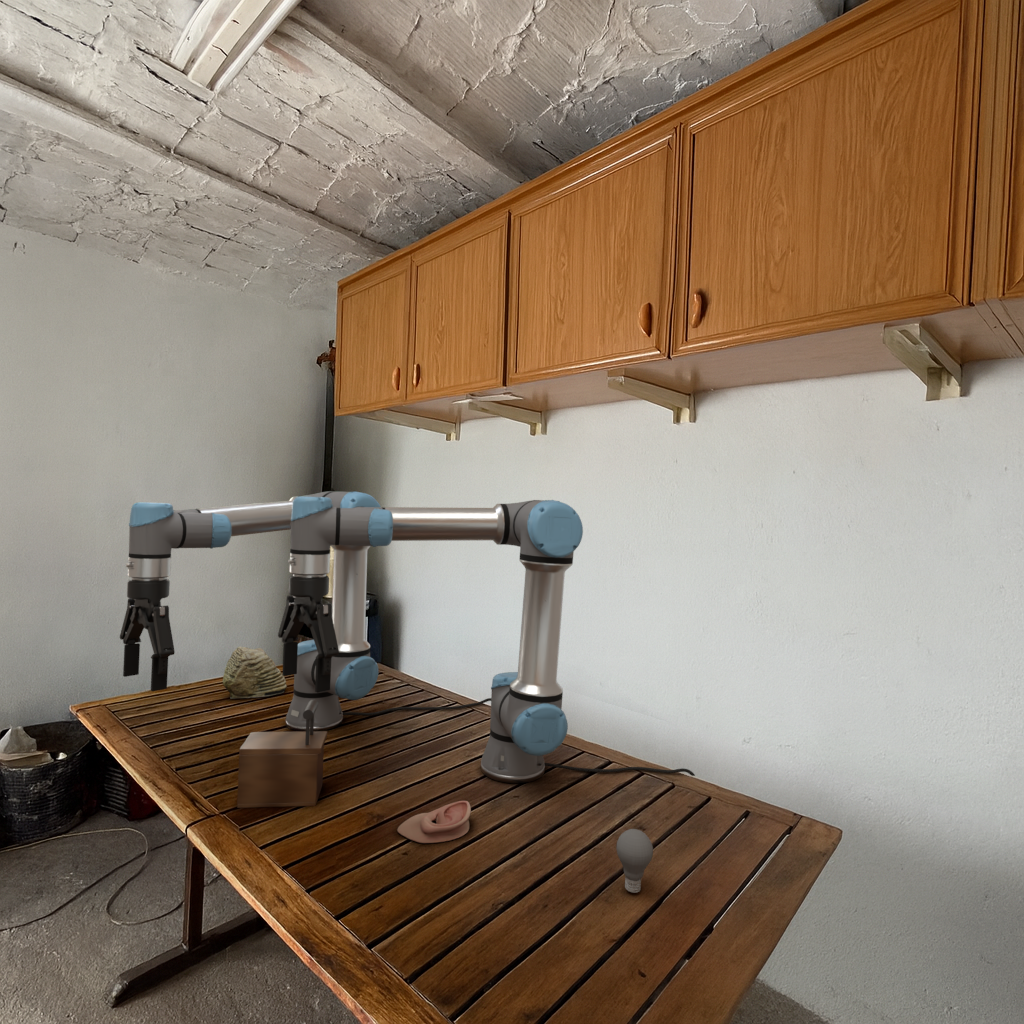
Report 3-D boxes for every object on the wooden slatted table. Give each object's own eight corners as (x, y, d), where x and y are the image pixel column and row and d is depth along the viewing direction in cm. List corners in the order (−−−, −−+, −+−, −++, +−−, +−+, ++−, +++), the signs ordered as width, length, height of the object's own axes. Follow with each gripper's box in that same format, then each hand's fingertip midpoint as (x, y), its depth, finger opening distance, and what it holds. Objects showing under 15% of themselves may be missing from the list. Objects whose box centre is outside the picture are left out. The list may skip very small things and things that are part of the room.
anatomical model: (391, 817, 118) (413, 790, 130) (390, 838, 118) (412, 809, 130) (459, 827, 116) (476, 799, 127) (459, 849, 116) (475, 819, 127)
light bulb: (610, 879, 108) (613, 822, 108) (644, 879, 109) (647, 822, 109) (619, 902, 102) (622, 840, 102) (655, 901, 103) (658, 840, 103)
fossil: (218, 695, 195) (220, 647, 195) (278, 685, 208) (279, 640, 207) (228, 703, 189) (230, 653, 188) (289, 692, 201) (290, 645, 201)
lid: (327, 736, 139) (328, 697, 139) (320, 753, 130) (322, 712, 130) (251, 737, 137) (252, 697, 136) (239, 755, 127) (240, 712, 127)
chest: (322, 785, 139) (324, 736, 139) (315, 805, 130) (317, 754, 130) (249, 786, 137) (251, 737, 137) (237, 807, 128) (239, 755, 127)
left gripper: (104, 572, 134) (100, 672, 134) (155, 586, 118) (150, 700, 118) (143, 570, 139) (139, 666, 140) (196, 584, 124) (191, 692, 124)
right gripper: (263, 569, 130) (259, 671, 131) (323, 584, 113) (319, 702, 113) (297, 567, 136) (294, 665, 136) (360, 581, 118) (356, 694, 119)
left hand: (144, 682), depth 129 cm, fingers open, 13 cm apart
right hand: (305, 682), depth 125 cm, fingers open, 13 cm apart
